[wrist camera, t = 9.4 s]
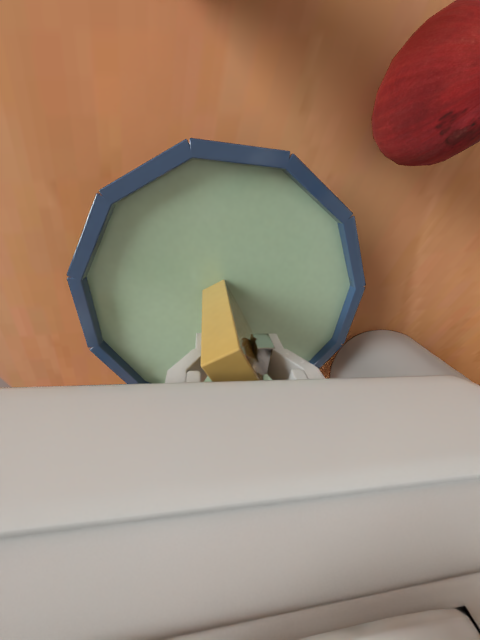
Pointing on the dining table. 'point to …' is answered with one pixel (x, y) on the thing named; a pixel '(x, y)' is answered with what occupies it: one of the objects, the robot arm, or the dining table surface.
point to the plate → (215, 263)
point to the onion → (432, 90)
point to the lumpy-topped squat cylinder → (387, 357)
